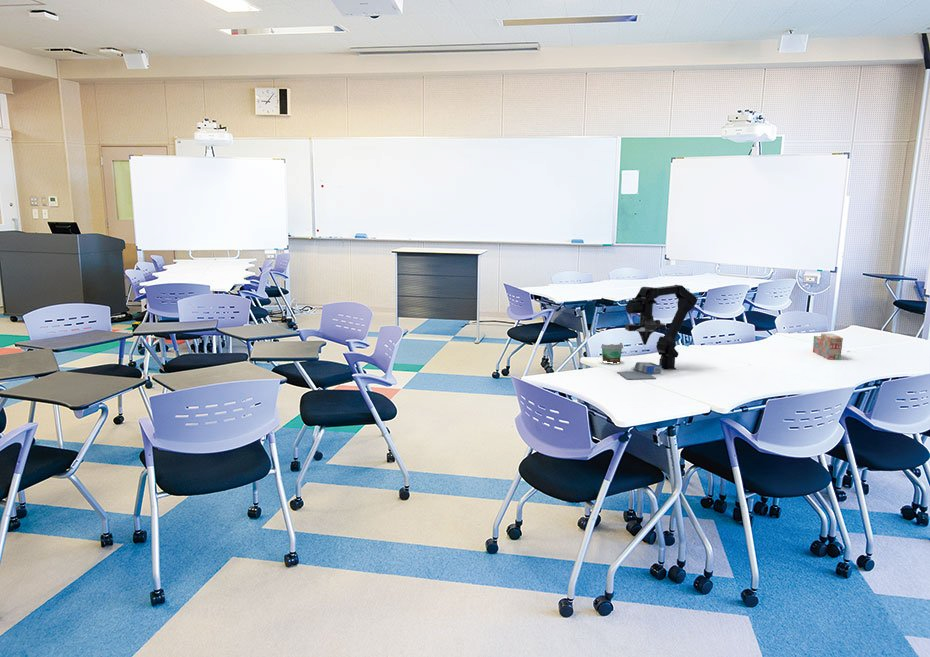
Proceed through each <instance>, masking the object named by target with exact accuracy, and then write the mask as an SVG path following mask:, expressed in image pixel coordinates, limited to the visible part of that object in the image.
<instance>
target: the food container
mask: <svg viewBox="0 0 930 657" xmlns="http://www.w3.org/2000/svg"><path fill="white" fill-rule="evenodd" d="M600 349H601V352H602V353H601V354H602V362H603V361H607V362H613V363H617V362H620V363H621V356H622V351H623V350H622V349H624V345H623V343H622V342H619V344H613V343H612V344H604V343H602V344H601V346H600Z"/></svg>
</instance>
